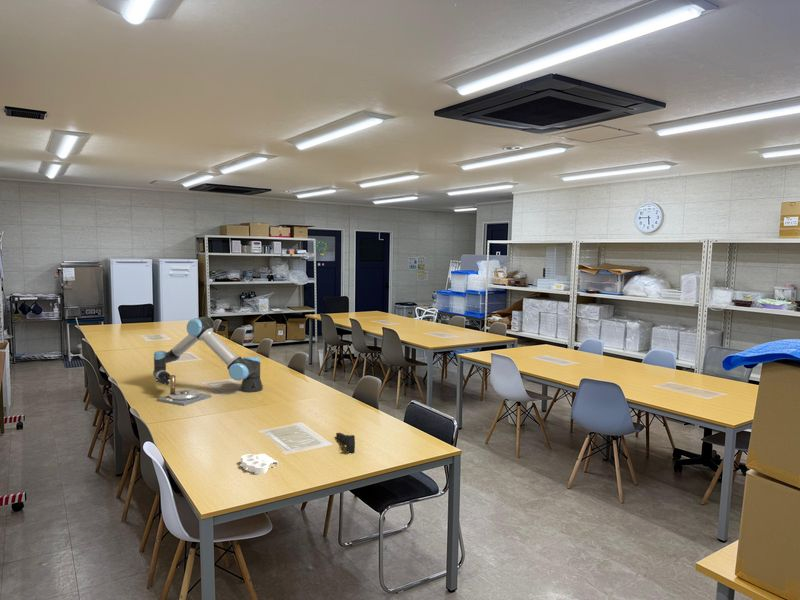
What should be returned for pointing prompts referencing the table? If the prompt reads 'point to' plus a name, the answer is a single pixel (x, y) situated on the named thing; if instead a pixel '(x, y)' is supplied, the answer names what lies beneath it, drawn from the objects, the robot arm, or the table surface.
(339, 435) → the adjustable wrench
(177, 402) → the stand plate
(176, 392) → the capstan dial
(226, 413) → the table surface
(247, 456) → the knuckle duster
